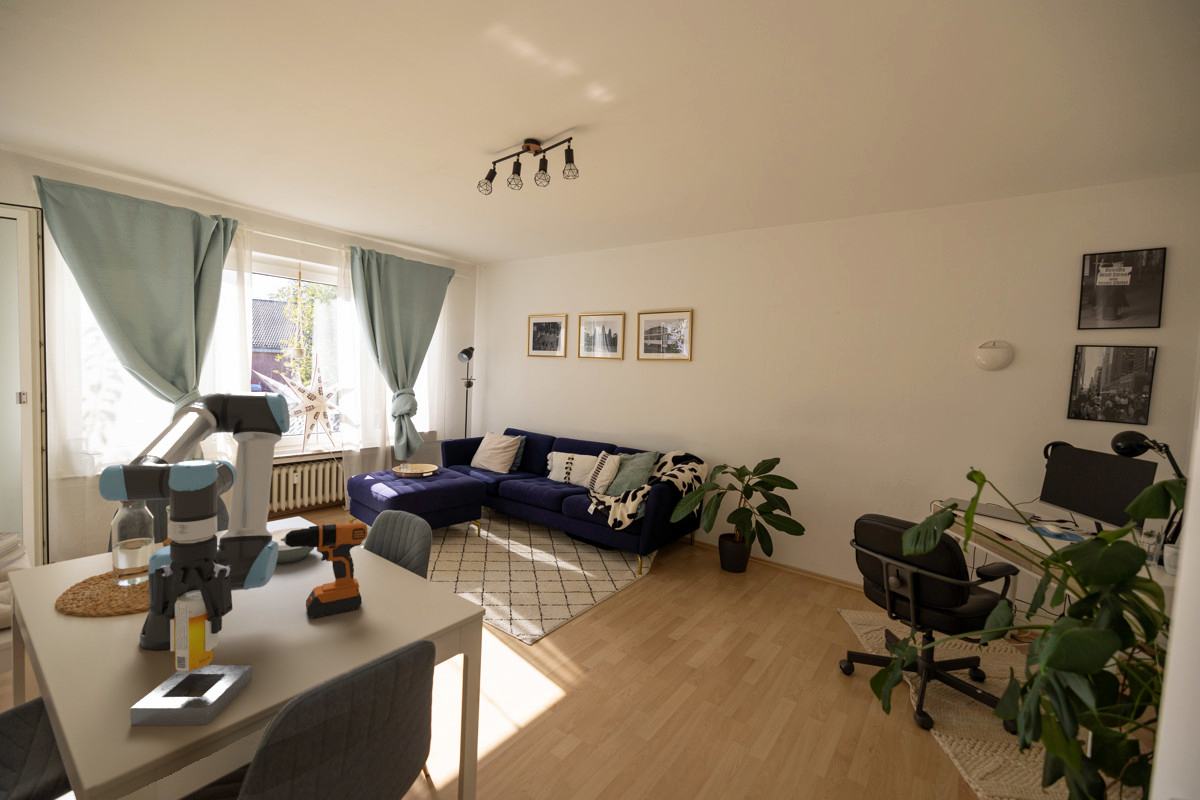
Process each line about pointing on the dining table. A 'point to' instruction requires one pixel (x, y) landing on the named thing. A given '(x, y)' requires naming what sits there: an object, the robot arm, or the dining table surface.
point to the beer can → (191, 633)
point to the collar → (178, 710)
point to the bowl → (288, 547)
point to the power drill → (336, 549)
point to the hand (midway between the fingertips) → (194, 647)
